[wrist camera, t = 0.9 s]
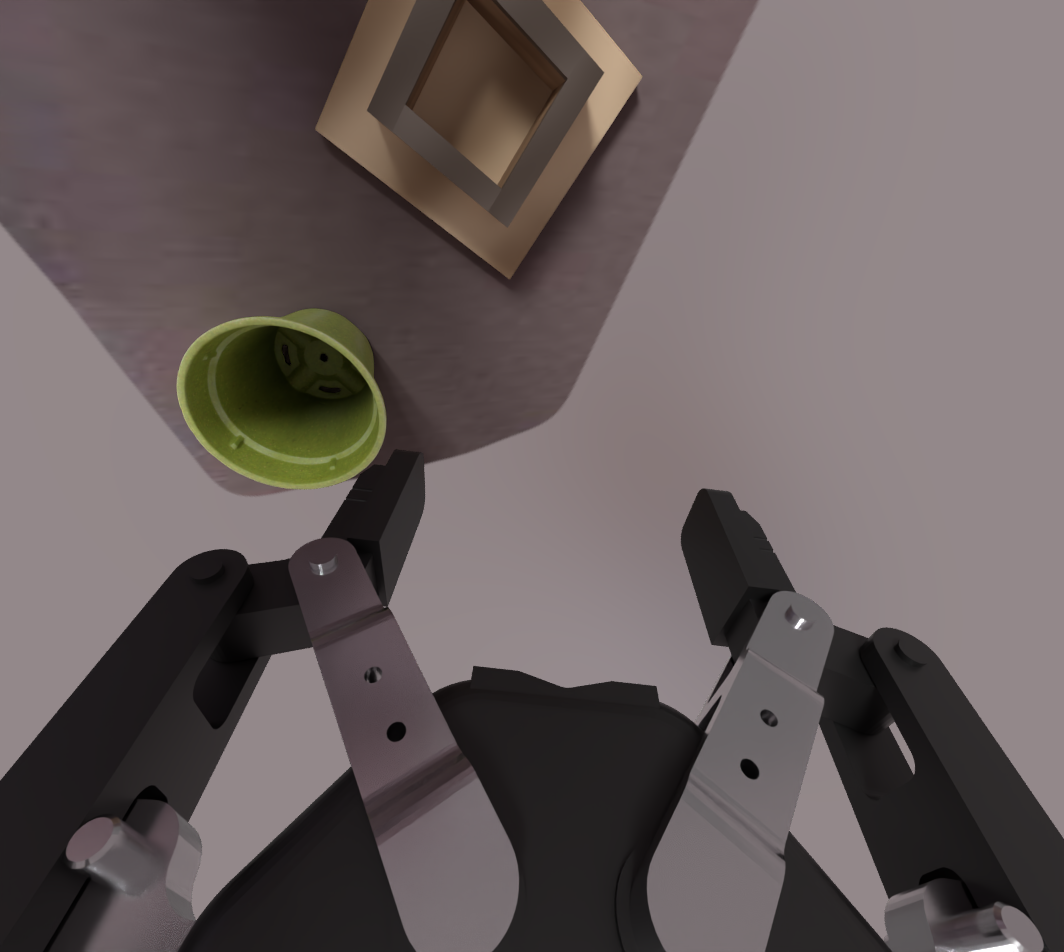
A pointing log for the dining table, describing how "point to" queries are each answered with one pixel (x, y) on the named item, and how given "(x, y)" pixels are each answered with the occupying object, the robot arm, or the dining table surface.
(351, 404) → the plant pot
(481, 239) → the board
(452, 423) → the dining table surface
